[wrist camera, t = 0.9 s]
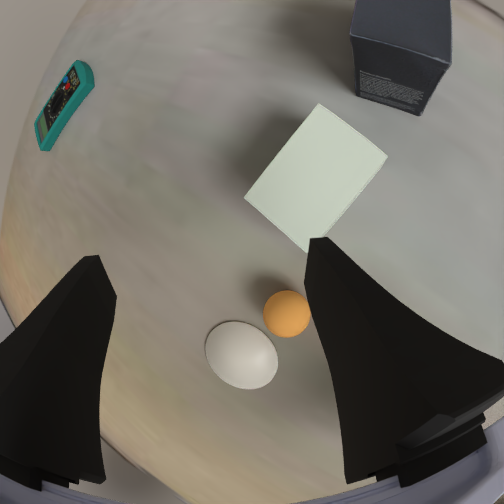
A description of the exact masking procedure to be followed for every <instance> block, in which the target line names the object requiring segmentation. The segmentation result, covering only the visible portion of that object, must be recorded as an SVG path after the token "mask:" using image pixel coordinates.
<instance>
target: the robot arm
mask: <svg viewBox="0 0 504 504" xmlns="http://www.w3.org/2000/svg"><path fill="white" fill-rule="evenodd" d="M304 285H305V290H306V295H307V299H308V304H309V308H310V311H311V314H312V317H313V320H314V323H315V326H316V329H317V332H318V335H319V338H320V341H321V343H322V346H323V349H324V352H325V355H326V358H327V361H328V365H329V368H330V372H331V376H332V381H333V386H334V391H335V396H336V402H337V408H338V414H339V421H340V428H341V436H342V445H343V457H344V474H345V479H346V483H347V484H351V483H354V482H357V481H361V480H364V479H367V478H370V477H373V476H376V480H377V482H376V483H373V484H370V485H367V486H364V487H360V488H357V489H354V490H350V491H347V492H343V493H339V494H335V495H331V496H327V497H323V498H318V499H313V500H308V501H303V502H297V503H291V504H493V503H494V502H495V501H496V500H497V499H498V498H499V497H500V496H501V495H502V494H504V416H503V417H502V418H500V419H499V420H497V421H496V422H495V423H493V424H492V425H490V426H489V427H487V428H486V429H484V430H483V428H482V425H481V424H482V423H484V422H485V420H486V419H485V416H484V413H483V412H484V411H485V410H487V409H488V408H489V407H491V406H492V405H493V404H495V403H496V402H497V401H498V400H500V399H501V398H502V397H503V396H504V363H503V362H502V360H499V359H497V358H495V357H493V356H490V355H488V354H486V353H484V352H481V351H479V350H477V349H475V348H473V347H471V346H469V345H467V344H465V343H463V342H461V341H459V340H458V339H456V338H454V337H452V336H451V335H449V334H447V333H445V332H444V331H442V330H441V329H439V328H437V327H436V326H434V325H433V324H431V323H429V322H428V321H426V320H425V319H423V318H422V317H421V316H419V315H418V314H416V313H415V312H414V311H412V310H411V309H410V308H408V307H407V306H405V305H404V304H403V303H401V302H400V301H399V300H398V299H396V298H395V297H394V296H393V295H391V294H390V293H389V292H388V291H387V290H385V289H384V288H383V287H382V286H381V285H379V284H378V283H377V282H376V281H375V280H374V279H373V278H371V277H370V276H369V275H368V274H367V273H366V272H365V271H364V270H363V269H361V268H360V267H359V266H358V265H357V264H356V263H355V262H354V261H353V260H352V259H351V258H350V257H349V256H347V255H346V254H345V253H344V252H343V251H342V250H341V249H340V248H339V247H338V246H337V245H336V244H335V243H334V242H333V241H331V240H330V239H329V238H328V237H319V238H310V242H309V250H308V257H307V265H306V272H305V279H304ZM116 299H117V295H116V293H115V291H114V289H113V287H112V285H111V282H110V280H109V278H108V276H107V273H106V271H105V269H104V266H103V264H102V262H101V259H100V257H99V255H93V256H84V257H83V258H82V259H81V260H80V261H79V262H78V263H77V264H76V265H75V266H74V267H73V268H72V269H71V270H70V271H69V272H68V273H67V274H66V275H65V276H64V277H63V278H62V279H61V280H60V282H59V283H58V284H57V285H56V286H55V287H54V288H53V289H52V290H51V291H50V293H49V294H48V295H47V296H46V297H45V298H44V299H43V300H42V301H41V302H40V304H39V305H38V306H37V307H36V308H35V309H34V310H33V311H32V312H31V313H30V315H29V316H28V317H27V318H26V319H25V320H24V321H23V322H22V323H21V324H20V325H19V326H18V327H17V328H16V329H15V330H14V331H13V332H12V333H11V334H10V335H9V336H8V337H7V338H6V339H5V340H4V341H3V342H1V343H0V504H132V503H127V502H121V501H116V500H111V499H106V498H102V497H98V496H93V495H90V494H86V493H82V492H79V491H75V490H72V489H69V482H70V483H74V484H79V479H81V480H84V481H88V482H92V483H97V484H101V483H103V482H104V481H105V480H106V475H105V470H104V465H103V458H102V452H101V441H100V424H99V404H100V385H101V378H102V372H103V367H104V362H105V357H106V353H107V348H108V344H109V340H110V335H111V331H112V327H113V322H114V315H115V308H116Z"/></svg>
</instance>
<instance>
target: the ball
mask: <svg viewBox="0 0 504 504" xmlns="http://www.w3.org/2000/svg"><path fill="white" fill-rule="evenodd" d="M310 314H311V313H310V308H309V304H308V302H307V301H306V299H305V298H304V297H303V296H302V295H300V294H299V293H297V292H294V291H289V290H285V291H280V292H277V293H275V294H274V295H272V296H271V297H270V298H269V299H268V300H267V302H266V304H265V306H264V310H263V319H264V322H265V325H266V326H267V328H268V329H269V330H270V331H271V332H272V333H273V334H275V335H277V336H280V337H286V338H287V337H293V336H296V335H298V334H300V333H301V332H302V331H303V330H304V329H305V328H306V327H307V325H308V323H309V320H310Z"/></svg>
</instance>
